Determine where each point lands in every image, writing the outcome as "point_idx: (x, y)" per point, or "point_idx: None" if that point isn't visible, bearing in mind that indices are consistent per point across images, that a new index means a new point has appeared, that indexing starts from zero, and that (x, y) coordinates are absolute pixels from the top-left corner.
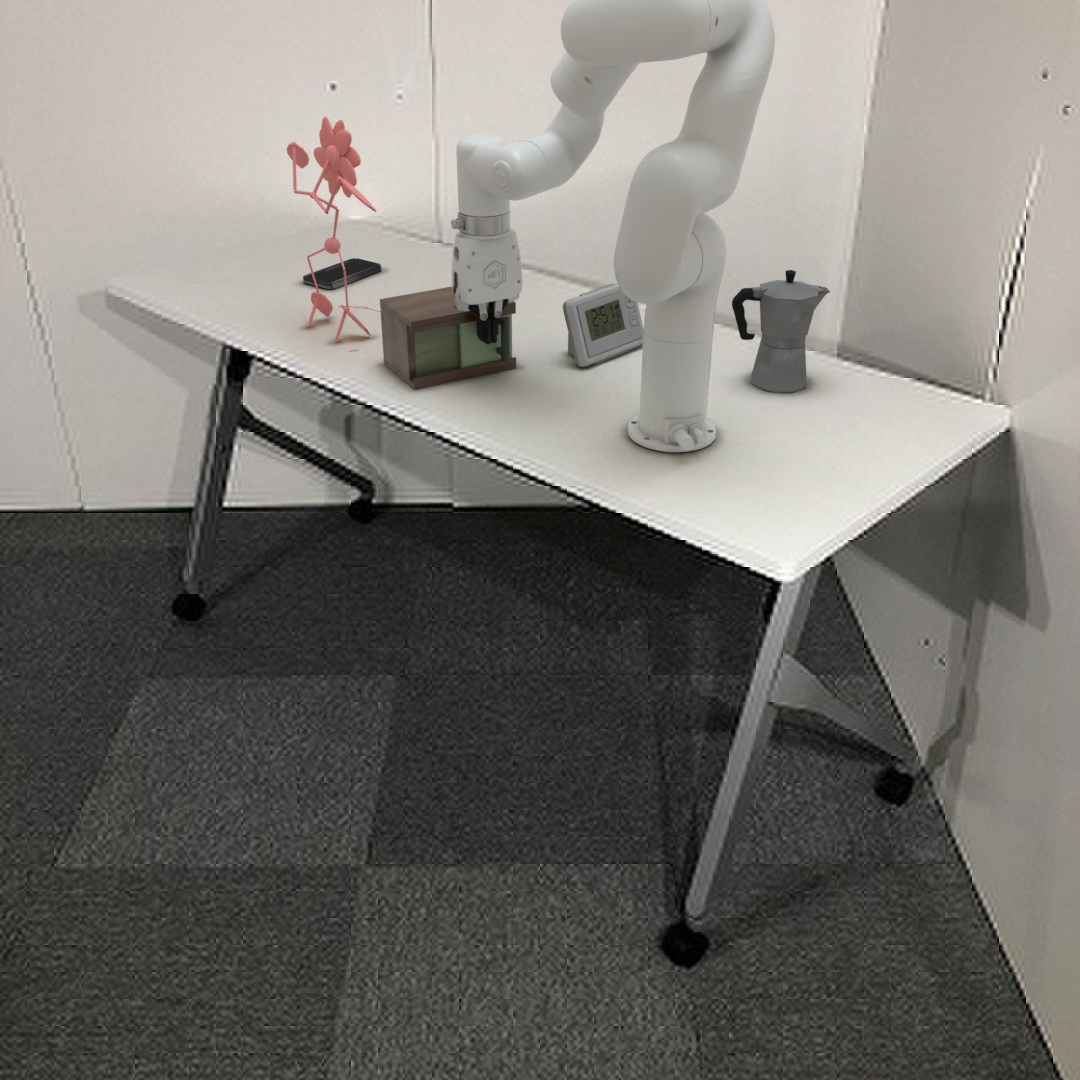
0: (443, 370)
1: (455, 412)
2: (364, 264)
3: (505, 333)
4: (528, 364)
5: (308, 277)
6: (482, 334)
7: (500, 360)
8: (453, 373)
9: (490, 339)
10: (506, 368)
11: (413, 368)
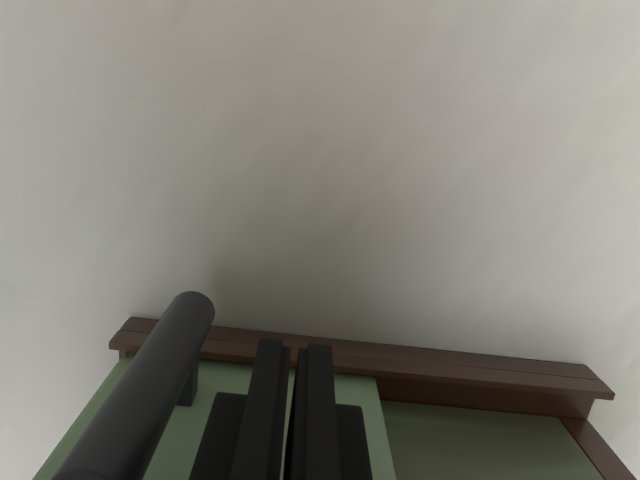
0: (441, 411)
1: (634, 78)
2: None
3: (149, 391)
4: (63, 318)
5: None
6: (353, 419)
7: None
8: (429, 366)
9: (312, 356)
10: None
11: (594, 451)
